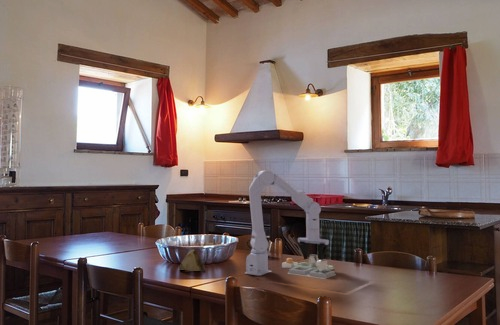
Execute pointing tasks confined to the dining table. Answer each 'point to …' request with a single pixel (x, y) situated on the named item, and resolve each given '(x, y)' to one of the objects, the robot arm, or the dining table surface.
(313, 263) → the cylinder
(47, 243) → the dining table surface
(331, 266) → the tray
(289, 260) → the button cap
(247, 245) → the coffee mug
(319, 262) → the cylinder
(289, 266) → the button housing
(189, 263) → the rock
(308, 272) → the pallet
